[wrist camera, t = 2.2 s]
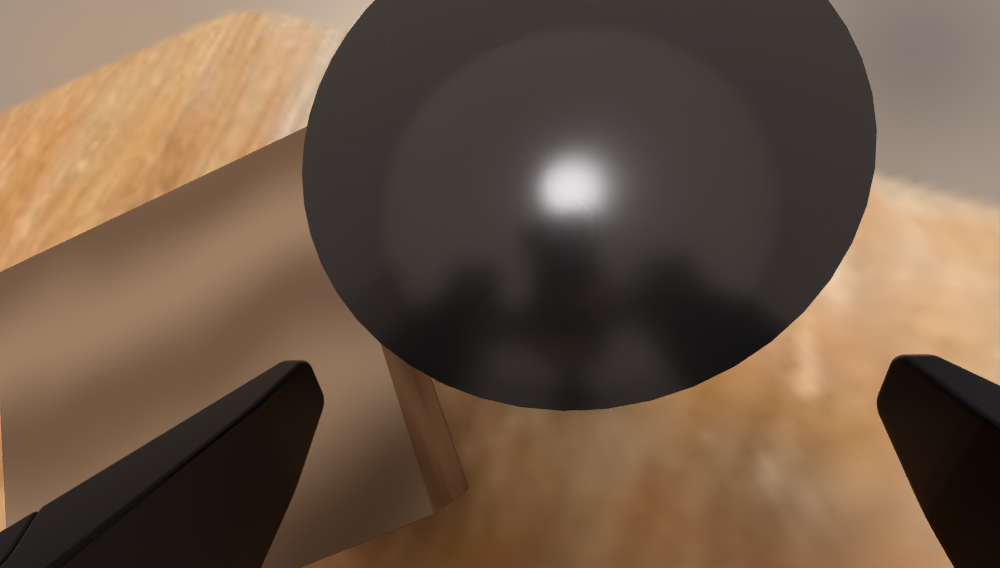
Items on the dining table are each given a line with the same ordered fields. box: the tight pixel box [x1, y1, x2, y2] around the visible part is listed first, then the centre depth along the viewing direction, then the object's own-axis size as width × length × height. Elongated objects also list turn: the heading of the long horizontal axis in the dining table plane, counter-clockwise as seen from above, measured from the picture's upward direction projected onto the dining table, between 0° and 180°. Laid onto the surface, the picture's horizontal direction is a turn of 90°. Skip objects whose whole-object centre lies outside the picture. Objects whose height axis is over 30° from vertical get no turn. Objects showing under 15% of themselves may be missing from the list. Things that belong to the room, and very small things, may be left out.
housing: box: [302, 0, 877, 411], centre depth 12 cm, size 7×7×13 cm
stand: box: [0, 127, 468, 568], centre depth 17 cm, size 14×14×4 cm
